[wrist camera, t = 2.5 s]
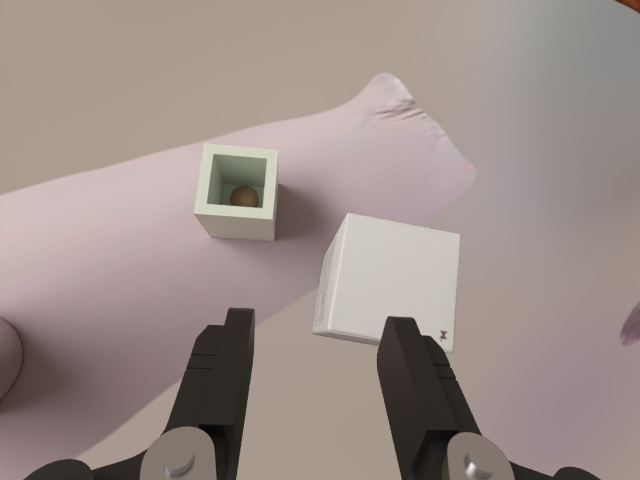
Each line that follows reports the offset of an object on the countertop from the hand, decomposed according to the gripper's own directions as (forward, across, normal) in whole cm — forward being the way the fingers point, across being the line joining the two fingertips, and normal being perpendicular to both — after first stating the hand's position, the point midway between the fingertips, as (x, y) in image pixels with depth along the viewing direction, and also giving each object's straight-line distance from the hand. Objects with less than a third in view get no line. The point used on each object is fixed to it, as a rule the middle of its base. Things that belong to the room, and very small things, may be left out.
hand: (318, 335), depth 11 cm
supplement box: (+23, -7, +17) cm, 29 cm away
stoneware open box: (+29, +6, +10) cm, 32 cm away
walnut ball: (+29, +6, +10) cm, 31 cm away
